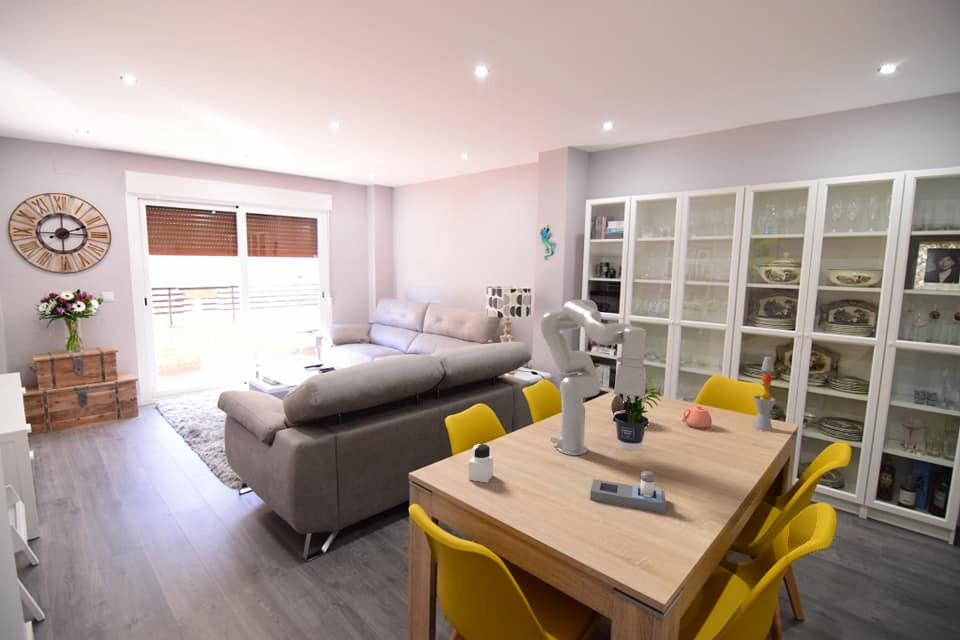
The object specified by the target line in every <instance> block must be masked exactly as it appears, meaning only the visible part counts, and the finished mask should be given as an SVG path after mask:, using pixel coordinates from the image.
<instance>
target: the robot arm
mask: <svg viewBox="0 0 960 640" xmlns="http://www.w3.org/2000/svg"><path fill="white" fill-rule="evenodd" d="M580 328H583V329H584V332H585V334H586V336H587V338H588V339H590V340H592V341H594V342H596V343H597V344H600V345H603V346H615V345H621V355H620V357H616V362H618V363H619V364H618V366H617V369H616V375H615V379H614V380H615V383H614V391H613V394H614V395H615V396H620V397H621V398H622V399H623V401H624V410H626V411H625V413H629V414H630V411H632V410H633V403H634V402H635V401H636V400H638V399H640V400H643V399H646V386H647V385H646V383H647V382H646V381H647V373H646V372H647V371H646V366H644V362H645V361H644V360H645V349H646V337H647V331H646V329H644V328H643V327H640V326H633V325H631V324H629V323H624V322H623V323H622V322H620V323H602V313H601V312H600V311H599V310H598V305H597V303H595V301H593V300H592V299H573V300H569V301H567V302H565V303H564V305H563V307H562V310H555V311H554V310H553V311H549V312H546V313H545V314H544V315H543V316H542V317H541V320H540V330H541V335H542V336H543V338H544V340H545V342H546V344H547V345H548V347H549V351H550V354H551V357H552V359H553V360H552V361H553V362H554V365H555V368H556V369H557V372H558V373H559V374H561V375H568V376H566V377H564V378H563V379H562V380H561V382H560V384H559V390H560V397H561V426H560V427H561V430H560V436H558V437H555V436H551V437H550V442H552V444H557V445H556V450H557V451H558V450H559V451H558V452H560V453H562V454H564V453H565V455H568V456H583V455H584V454H585V455H586V454H587V452H588V446H587V445H585V425H586V424H585V423H586V422H585V421H586V408H585V405H584V403H583V402H582V401H583V400H582V399H584V398H590V397H595V396H597V395H598V394H599V393H600V392H601V389H602V388H601V385H602V384H601V380H600V378H599V376H598V372H597V370H596V367H595V365H594V362H593V359H592V357H591V355H590V354H588V352H586V351H584V350H572V348H571V346H570V345H571V344H570V343H569V340H568V339H567V338H566V336H564V335H563V334H562V333H561V332H562V331H573V330H577V329H580ZM572 374H573V375H572ZM569 375H570V376H569ZM627 395H632V397H631V399H630V401H628V398H627ZM628 404H629V407H628Z"/></svg>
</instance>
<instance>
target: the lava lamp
mask: <svg viewBox="0 0 960 640" xmlns="http://www.w3.org/2000/svg"><path fill="white" fill-rule="evenodd" d="M773 363H774V361H773V357H771V356H765V357H764V358H763V361H762V366H761V370H762V371H764V372H766V371H767V372H774V364H773ZM760 378H761V382H762V383H763V386H764V390H763V391H761V392H760V395H754V396H753V399H754V403H755V405H756V409H757V412H758V413H757V415H756V416H755V419H754V421H753V424H751V428H752V429H753V428H754V429H753V430H756V429H757V430H756V431H759V430H762V431H761V432H764V431H771V432H773V431H774V429H773V425H772V422H771V417H770V412H771V411H772V410H773V407H774V405H775V403H776V401H777V399H776V398H774V397H771V396H770V386H771V383H772V381H773V376H772V375H770V374H769V373H764V374H762V376H761V377H760ZM772 430H773V431H772Z"/></svg>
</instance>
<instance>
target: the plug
mask: <svg viewBox="0 0 960 640" xmlns="http://www.w3.org/2000/svg"><path fill="white" fill-rule="evenodd" d="M640 474H641V475H640V486H641V491H640V496H644V494H645V495H651V498H653V494H654V488H655V473H654V472H652V471H650V470H642V471H641V472H640Z"/></svg>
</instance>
